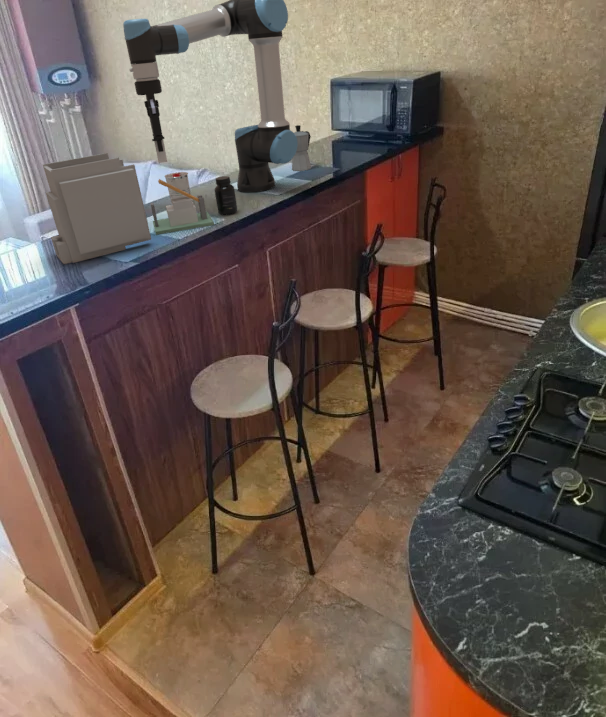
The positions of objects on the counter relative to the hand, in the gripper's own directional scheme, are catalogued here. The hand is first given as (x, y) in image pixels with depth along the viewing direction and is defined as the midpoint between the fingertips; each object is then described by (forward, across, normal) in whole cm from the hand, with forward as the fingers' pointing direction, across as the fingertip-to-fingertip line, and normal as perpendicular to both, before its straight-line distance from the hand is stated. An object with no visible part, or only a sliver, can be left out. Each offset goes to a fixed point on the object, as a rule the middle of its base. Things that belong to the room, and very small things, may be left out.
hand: (162, 161), depth 181 cm
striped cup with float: (+21, -22, +5) cm, 31 cm away
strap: (+10, 0, +4) cm, 11 cm away
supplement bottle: (+21, -5, +19) cm, 28 cm away
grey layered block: (+21, +12, -22) cm, 33 cm away
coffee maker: (+20, -57, +62) cm, 87 cm away
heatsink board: (+21, 0, +3) cm, 21 cm away
